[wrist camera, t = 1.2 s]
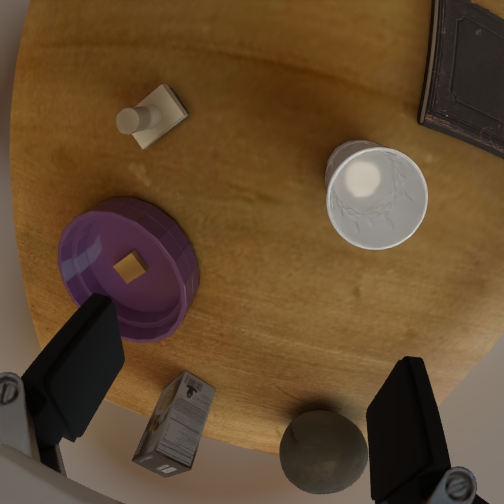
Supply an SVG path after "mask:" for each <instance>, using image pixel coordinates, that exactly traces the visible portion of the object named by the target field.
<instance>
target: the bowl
mask: <svg viewBox="0 0 504 504" xmlns="http://www.w3.org/2000/svg"><path fill="white" fill-rule="evenodd" d="M134 249H136V250H137V251H138V253H139V254H140V255H141V257H142V258H143V259H144V261H145V262H146V263H147V264H148V266H149V269H148V270H147V271H146V272H145V273H143V274H142V275H140V276H139V277H137V278H135V279H134V280H132V281H131V282H129V283H128V284H127V283H126V282H125V281H124V280H123V278H122V277H121V276H120V275H119V273H118V272H117V271H116V269H115V268H114V267H113V266H114V265H115V264H116V263H117V262H118V261H119V260H121V259H122V258H123V257H125V256H126V255H128V254H129V253H130V252H132V251H133V250H134ZM58 266H59V270H60V273H61V277H62V281H63V284H64V286H65V287H66V289H67V291H68V293H69V295H70V297H71V299H72V300H73V302H74V303H75V304H76V305H77V307H78V308H80V307H81V306H82V304H83V303H84V302H85V301H86V300H87V299H88V298H89V297H90V296H91V295H92V294H93V293H95V292H96V293H99V294H102V295H106V296H109V297H110V298H111V299H112V302H114V303H115V305H116V312H117V318H118V324H119V330H120V335H121V339H124V340H128V341H132V342H136V343H149V342H157V341H159V340H162V339H164V338H167V337H169V336H171V335H172V334H173V333H174V331H175V330H176V329H177V328H178V327H179V326H180V325H181V324H182V322H183V320H184V318H185V316H186V314H187V312H188V310H189V308H190V307H191V305H192V303H193V301H194V298H195V295H196V292H197V289H198V286H199V272H198V262H197V259H196V257H195V254H194V251H193V249H192V246H191V243H190V241H189V240H188V239H187V237H186V236H185V234H184V233H183V232H182V230H181V229H180V228H179V226H178V225H177V224H176V222H175V221H174V220H172V219H171V218H170V217H169V216H167V215H166V214H165V213H163V212H162V211H161V210H160V209H158V208H157V207H156V206H154V205H151V204H149V203H146V202H144V201H141V200H139V199H136V198H124V197H113V198H110V199H108V200H105V201H102V202H99V203H97V204H96V205H94V206H92V207H91V208H89V209H88V210H86V211H84V212H83V213H81V214H80V215H78V216H76V217H75V218H74V219H73V220H72V221H71V222H70V223H69V224H68V225H67V226H66V228H65V229H64V230H63V233H62V236H61V238H60V241H59V244H58Z"/></svg>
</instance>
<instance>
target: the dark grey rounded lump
mask: <svg viewBox="0 0 504 504" xmlns="http://www.w3.org/2000/svg"><path fill="white" fill-rule="evenodd" d="M279 453H280V461H281V466H282V469H283V471H284V473H285V475H286V477H287V478H288V479H289V481H290V482H291V483H293V484H294V485H295V486H297V487H298V488H299V489H301V490H303V491H305V492H308V493H312V494H329V493H335V492H339V491H342V490H344V489H346V488H348V487H349V486H351V485H352V484H353V483H354V482H356V481H357V480H358V479H359V477H360V476H361V474H362V473H363V471H364V469H365V467H366V465H367V461H368V448H367V444H366V441H365V438H364V436H363V434H362V432H361V431H360V429H359V428H358V427H357V426H356V425H355V424H354V423H352V422H351V421H350V420H348V419H347V418H345V417H343V416H342V415H339V414H337V413H334V412H330V411H324V410H315V411H309V412H306V413H303V414H301V415H299V416H298V417H296V418H295V419H294V420H293V421H292V422H291V423H290V424H289V426H288V427H287V429H286V430H285V433H284V435H283V437H282V440H281V443H280V452H279Z"/></svg>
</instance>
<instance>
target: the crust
mask: <svg viewBox="0 0 504 504" xmlns="http://www.w3.org/2000/svg"><path fill="white" fill-rule="evenodd" d="M113 267H114V268H115V269H116V271H117V272H118V273H119V275H120V276H121V277H122V278H123V280H124V281H125V282H126V283H127V284H128V283H129V282H131V281H132V280H134V279H135V278H137V277H139V276H140V275H142V274H143V273H145V272H146V271H147V270H148V269H149V266H148V264H147V263H146V262H145V261H144V259H143V258H142V257H141V255H140V254H139V253H138V251H137V250H136V249H134V250H133V251H132V252H130V253H129V254H128V255H126V256H125V257H123V258H122V259H121V260H119V261H118V262H117V263H116V264H115V265H114V266H113Z"/></svg>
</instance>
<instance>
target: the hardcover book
mask: <svg viewBox="0 0 504 504" xmlns="http://www.w3.org/2000/svg"><path fill="white" fill-rule="evenodd" d="M417 119H418V124H420V125H422V126H425V127H428V128H431V129H434V130H436V131H439V132H442V133H445V134H447V135H450V136H452V137H455V138H457V139H460V140H462V141H465V142H467V143H470V144H472V145H474V146H477V147H479V148H481V149H484V150H486V151H488V152H490V153H492V154H495V155H497V156H499V157H501V158H503V159H504V19H502V18H501V17H499V16H497V15H495V14H494V13H492V12H490V11H489V10H487V9H485V8H483V7H481V6H480V5H478V4H476V3H474V2H472V1H470V0H432V14H431V27H430V37H429V47H428V55H427V63H426V70H425V77H424V84H423V90H422V96H421V101H420V107H419V112H418V117H417Z"/></svg>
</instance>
